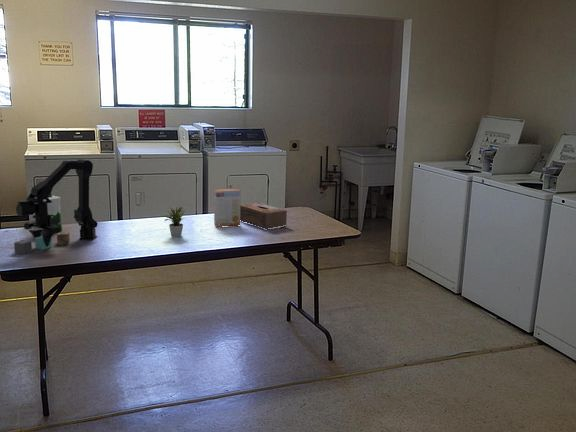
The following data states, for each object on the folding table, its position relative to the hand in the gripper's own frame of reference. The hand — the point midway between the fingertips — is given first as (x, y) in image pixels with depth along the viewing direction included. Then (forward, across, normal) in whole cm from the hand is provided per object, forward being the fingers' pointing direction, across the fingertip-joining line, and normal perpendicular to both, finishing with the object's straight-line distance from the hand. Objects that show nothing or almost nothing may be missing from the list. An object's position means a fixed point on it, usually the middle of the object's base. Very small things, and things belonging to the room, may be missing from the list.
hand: (43, 245), depth 257 cm
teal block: (+1, 0, 0) cm, 1 cm away
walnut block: (+1, -1, -11) cm, 11 cm away
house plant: (+1, -36, -52) cm, 64 cm away
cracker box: (+1, -45, -85) cm, 97 cm away
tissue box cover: (+2, -59, -101) cm, 117 cm away
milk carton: (+1, +22, -22) cm, 31 cm away
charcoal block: (+1, +1, +10) cm, 10 cm away
